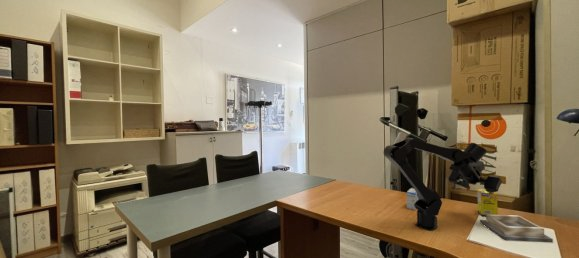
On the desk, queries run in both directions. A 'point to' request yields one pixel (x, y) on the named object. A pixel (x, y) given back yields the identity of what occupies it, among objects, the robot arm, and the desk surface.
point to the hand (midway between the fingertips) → (480, 191)
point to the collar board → (515, 228)
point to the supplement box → (487, 203)
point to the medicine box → (411, 198)
